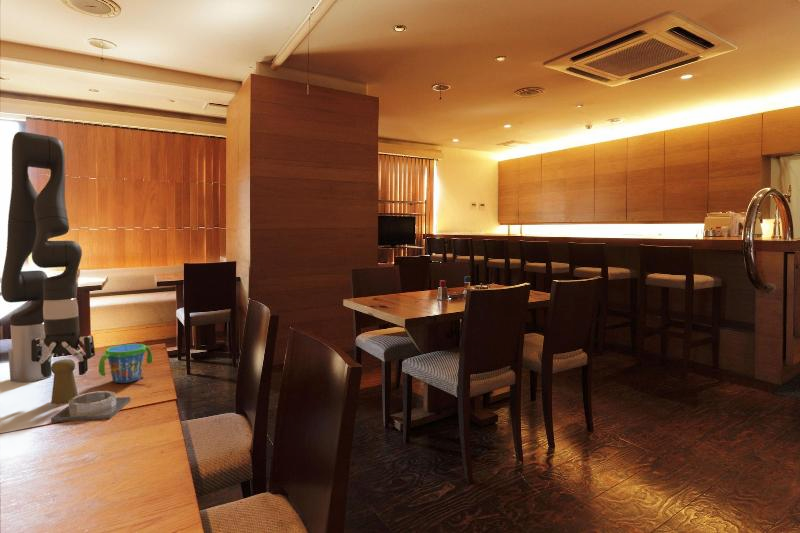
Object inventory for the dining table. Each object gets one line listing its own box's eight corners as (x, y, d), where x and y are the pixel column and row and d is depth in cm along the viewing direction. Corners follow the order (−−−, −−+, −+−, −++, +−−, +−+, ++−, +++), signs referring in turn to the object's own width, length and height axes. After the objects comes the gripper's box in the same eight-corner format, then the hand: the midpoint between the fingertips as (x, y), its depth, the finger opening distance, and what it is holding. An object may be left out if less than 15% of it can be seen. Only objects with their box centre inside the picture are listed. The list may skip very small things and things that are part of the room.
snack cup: (143, 370, 150) (142, 340, 149) (161, 376, 144) (160, 344, 143) (91, 383, 137) (89, 350, 136) (108, 390, 131) (107, 355, 130)
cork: (64, 405, 120) (62, 364, 119) (45, 403, 121) (42, 362, 121) (84, 397, 126) (82, 358, 125) (66, 395, 127) (64, 356, 126)
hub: (51, 422, 110) (50, 408, 109) (77, 403, 122) (76, 390, 121) (110, 418, 112) (109, 405, 112) (130, 400, 124) (130, 388, 123)
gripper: (97, 312, 127) (100, 369, 128) (39, 314, 124) (43, 372, 126) (83, 317, 119) (87, 377, 121) (22, 319, 117) (26, 381, 118)
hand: (65, 375), depth 123 cm, fingers open, 8 cm apart
